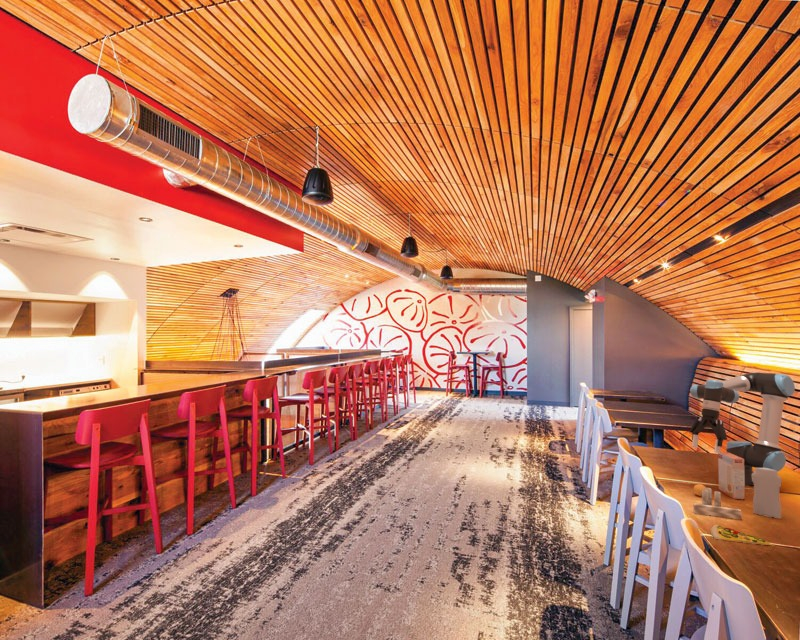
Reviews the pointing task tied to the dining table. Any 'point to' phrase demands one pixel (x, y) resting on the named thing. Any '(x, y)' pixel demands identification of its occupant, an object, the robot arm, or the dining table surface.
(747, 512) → the dining table surface
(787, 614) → the dining table surface
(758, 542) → the pizza slice
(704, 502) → the pin
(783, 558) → the dining table surface
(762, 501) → the tall pale column
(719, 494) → the pin
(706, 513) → the back wall
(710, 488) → the front pin
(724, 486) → the cracker box
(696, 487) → the ball
